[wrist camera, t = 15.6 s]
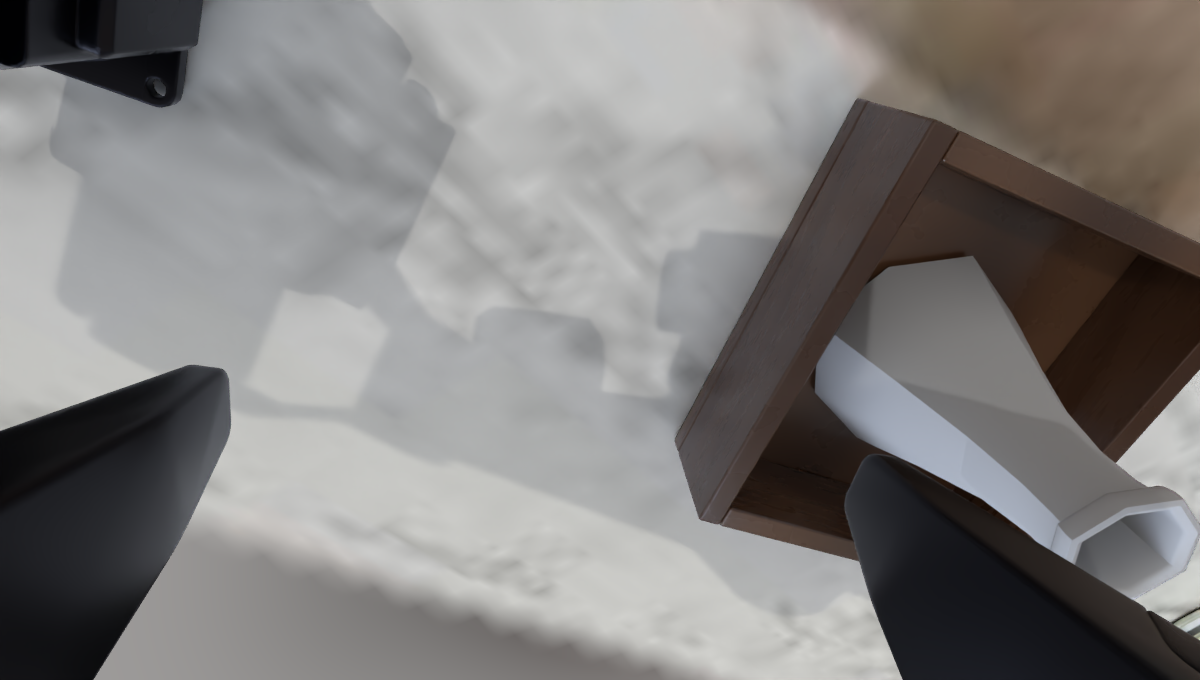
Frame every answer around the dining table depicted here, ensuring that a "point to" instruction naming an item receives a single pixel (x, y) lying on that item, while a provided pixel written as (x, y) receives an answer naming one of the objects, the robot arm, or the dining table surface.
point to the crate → (922, 234)
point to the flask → (994, 422)
